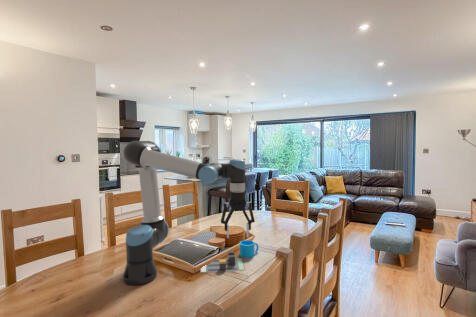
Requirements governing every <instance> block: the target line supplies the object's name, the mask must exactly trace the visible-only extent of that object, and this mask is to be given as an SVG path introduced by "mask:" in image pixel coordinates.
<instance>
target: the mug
mask: <svg viewBox="0 0 476 317" xmlns="http://www.w3.org/2000/svg"><path fill="white" fill-rule="evenodd" d="M255 246H256V248H255ZM259 247H260V246H259V244H258V243H257V242H254V241H253V240H250V239H248V240H247V239H246V240H245V239H244V240H241V241H239V256H240V258H246V259H247V258H249V259H250V258H253V257H255V253H257V252H258V251H259Z"/></svg>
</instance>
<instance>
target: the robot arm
mask: <svg viewBox="0 0 476 317" xmlns="http://www.w3.org/2000/svg"><path fill="white" fill-rule="evenodd" d="M122 152H123V158H124V159H125V161H126V162H127V163H128V164H130V165H134V167H135V169H136V171H138V173H139V174H138V176H139V184H140V185H139V186H140V193H141V194H140V195H141V196H140V197H141V205H142V212H143V217H142V219H140V224H138V225H135V226H133V227H130V228H129V229H128V230H127V232H126V234H125V245H126V246H125V247H126V249H125V251H126V264H125V267H124V271H123V273H122V274H123V275H122V281H123V283H124V284H126V285H130V286H140V285H145V284H149V283H150V282H152V281H154V280H155V279H156V278H157V276H158V269H157V266H156V263H155V262H154V248H156V247H157V246H158V245H159V244H162V243H163V242H164V241H165V240H166V239H167V237H168V235H169V233H170V228H169V227H170V226H169V224H168V223H167V222H166V220H165V216H163V215H162V212H161V203H160V192H159V183H158V173H157V170H162V171H166V172H169V173H174V174H177V175H180V176H185V177H188V178H192V179H196V180H198V181H201V182H202V184H212V183H215V182H216V181H217V180H222V179H223V180H224V179H225V180H229V202H226V201H225V202H223V210H222V215H221V219H220V224H223V225H224V231H225V232H226V238H227V239H229V238H230V232H229V231H230V226H229V221H230V219H231V217H232V216H233V213H234V212H236V211H242V214H243V215H244V216H245V219H246V221H247V222H246V226H245V227H246V228H245V229H246V231H245V232H246V235H245V236H246V237H247V238H249V237H250V231H251V229H252V223H253V224H254V223H255V222H256V220H255V217H254V212H253V208H252V206H253V202H251V201H246V161H245V160H244V159H241V158H236V159H232V158H231V159H230V160H229V162H228V163H220V162H219V163H218V162H217V163H216V162H215V163H214V162H213V163H212V162H211V163H203V162H199V161H195V160H192V159H188V158H184V157H180V156H176V155H173V154H169V153H165V152H162V149H161V147H160V145H158V143H156V142H154V141H150V140H132V141H130V142H128V143H127V144H126V145H125V146H124V149H123V151H122ZM229 206H230V207H231V208H230V210H229V212H228V214H227V216H226V213H227V208H228V207H229ZM246 206H247V207H248V212H249V215H250V217H249V215H248V214H247V212H246V210H245V207H246Z"/></svg>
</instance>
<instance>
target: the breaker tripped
mask: <svg viewBox="0 0 476 317" xmlns="http://www.w3.org/2000/svg"><path fill="white" fill-rule="evenodd" d="M220 270H226V260H220Z"/></svg>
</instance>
